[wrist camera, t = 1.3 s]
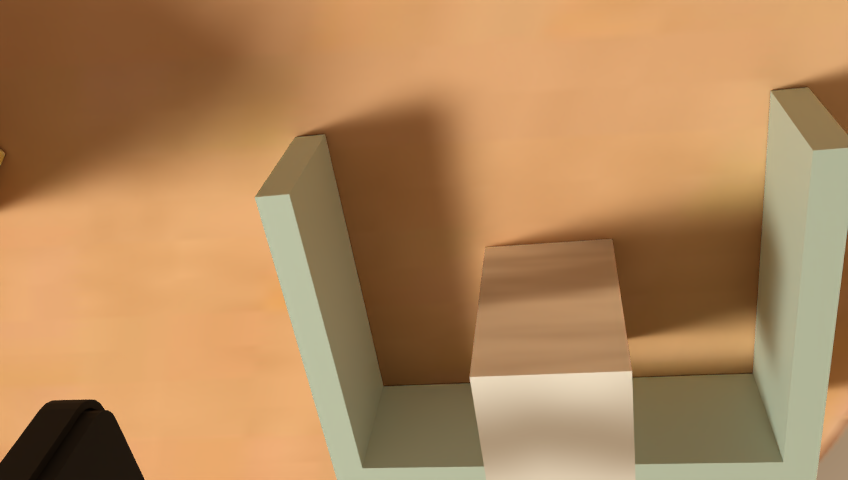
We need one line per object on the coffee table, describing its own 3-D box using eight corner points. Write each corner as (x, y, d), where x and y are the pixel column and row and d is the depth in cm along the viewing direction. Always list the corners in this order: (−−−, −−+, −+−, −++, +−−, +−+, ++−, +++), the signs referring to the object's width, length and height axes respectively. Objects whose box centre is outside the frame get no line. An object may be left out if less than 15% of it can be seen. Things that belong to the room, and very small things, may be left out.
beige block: (485, 247, 32) (469, 376, 25) (612, 238, 31) (631, 371, 24) (498, 345, 34) (487, 488, 28) (616, 340, 33) (636, 487, 27)
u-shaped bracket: (295, 136, 30) (254, 197, 26) (808, 87, 27) (857, 146, 23) (363, 406, 37) (339, 489, 33) (781, 394, 34) (815, 485, 29)
